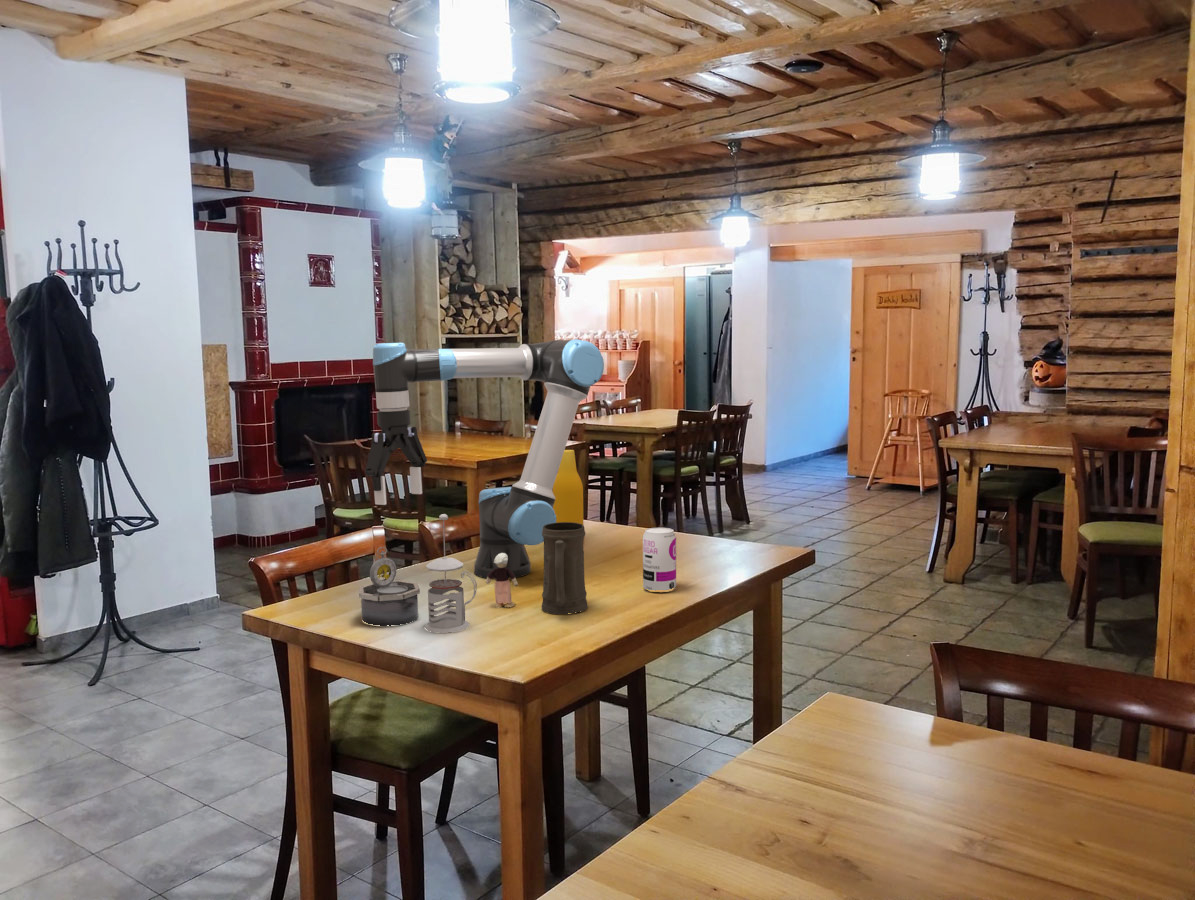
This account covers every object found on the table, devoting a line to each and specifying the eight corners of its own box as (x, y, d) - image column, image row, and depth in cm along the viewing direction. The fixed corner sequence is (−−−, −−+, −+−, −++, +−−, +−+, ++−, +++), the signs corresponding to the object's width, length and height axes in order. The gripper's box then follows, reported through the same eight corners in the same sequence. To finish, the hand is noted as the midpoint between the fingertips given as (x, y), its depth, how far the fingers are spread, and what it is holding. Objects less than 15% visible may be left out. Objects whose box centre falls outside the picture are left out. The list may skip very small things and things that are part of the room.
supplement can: (679, 586, 240) (679, 528, 238) (671, 595, 232) (671, 534, 230) (648, 584, 243) (648, 526, 241) (639, 592, 235) (638, 532, 233)
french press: (430, 619, 215) (427, 509, 212) (481, 620, 213) (478, 510, 211) (418, 632, 205) (414, 518, 202) (471, 633, 204) (468, 518, 201)
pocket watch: (400, 598, 210) (398, 553, 209) (365, 596, 212) (363, 552, 211) (414, 588, 218) (413, 545, 217) (380, 586, 220) (378, 544, 219)
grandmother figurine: (519, 603, 226) (518, 551, 225) (518, 608, 223) (517, 554, 221) (486, 604, 226) (485, 551, 225) (485, 608, 222) (483, 555, 221)
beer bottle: (583, 549, 284) (582, 452, 280) (552, 549, 284) (550, 452, 280) (584, 542, 293) (583, 448, 289) (554, 542, 293) (552, 449, 290)
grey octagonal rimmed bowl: (417, 608, 224) (416, 578, 223) (422, 624, 211) (421, 593, 210) (359, 613, 220) (357, 583, 219) (361, 629, 207) (360, 598, 206)
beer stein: (540, 601, 227) (539, 520, 224) (585, 600, 228) (584, 519, 225) (542, 625, 212) (541, 538, 209) (590, 623, 213) (589, 537, 210)
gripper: (412, 404, 235) (418, 489, 238) (344, 414, 213) (351, 508, 216) (437, 404, 232) (443, 490, 235) (371, 415, 210) (377, 509, 213)
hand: (399, 499), depth 225 cm, fingers open, 13 cm apart
